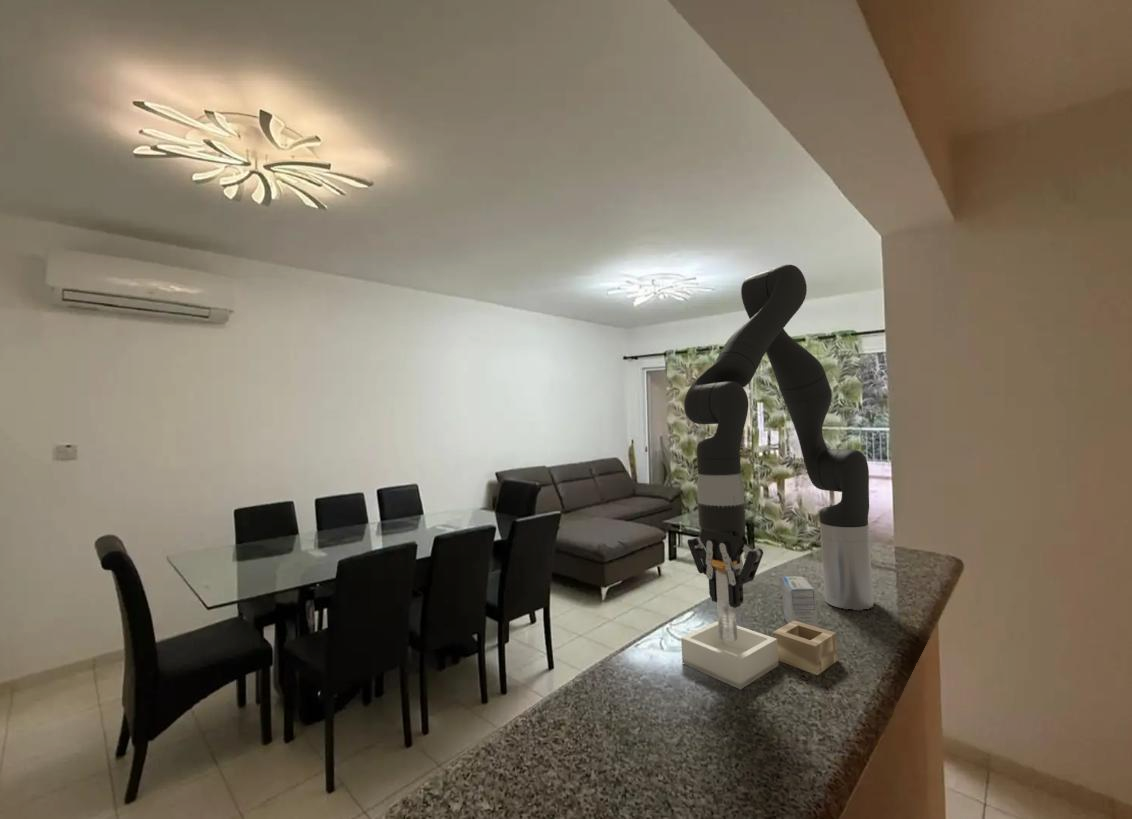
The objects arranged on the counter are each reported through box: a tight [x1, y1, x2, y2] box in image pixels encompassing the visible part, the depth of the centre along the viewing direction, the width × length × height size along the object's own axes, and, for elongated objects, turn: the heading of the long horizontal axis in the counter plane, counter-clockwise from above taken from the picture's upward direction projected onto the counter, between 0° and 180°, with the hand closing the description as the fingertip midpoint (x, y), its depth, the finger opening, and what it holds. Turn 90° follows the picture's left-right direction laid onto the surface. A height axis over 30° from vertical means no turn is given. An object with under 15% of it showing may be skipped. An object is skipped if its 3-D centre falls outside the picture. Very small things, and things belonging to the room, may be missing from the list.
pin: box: [711, 559, 738, 641], centre depth 81 cm, size 4×4×13 cm
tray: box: [680, 620, 780, 691], centre depth 81 cm, size 11×11×4 cm
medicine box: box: [781, 575, 819, 628], centre depth 94 cm, size 8×4×9 cm, turn 168°
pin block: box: [772, 621, 839, 676], centre depth 81 cm, size 7×7×4 cm
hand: (726, 603), depth 81 cm, fingers closed on pin, 3 cm apart
